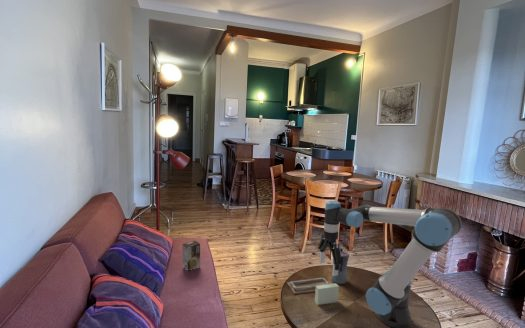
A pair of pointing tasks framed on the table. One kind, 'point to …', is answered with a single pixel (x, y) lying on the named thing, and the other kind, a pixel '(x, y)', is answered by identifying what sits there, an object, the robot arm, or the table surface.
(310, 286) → the grey rectangular tray
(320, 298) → the pale green block
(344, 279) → the moka pot
